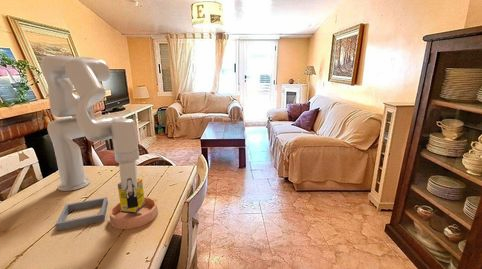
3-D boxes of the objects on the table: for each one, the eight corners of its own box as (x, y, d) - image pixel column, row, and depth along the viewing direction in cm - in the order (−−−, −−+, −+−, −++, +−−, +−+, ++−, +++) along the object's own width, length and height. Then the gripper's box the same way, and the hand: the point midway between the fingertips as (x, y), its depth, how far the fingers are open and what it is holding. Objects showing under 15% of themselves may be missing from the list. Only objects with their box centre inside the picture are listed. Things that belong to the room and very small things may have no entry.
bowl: (112, 210, 94) (111, 201, 94) (155, 201, 100) (154, 193, 100) (109, 233, 80) (107, 223, 80) (159, 221, 86) (158, 213, 86)
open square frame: (66, 210, 95) (65, 204, 94) (108, 202, 100) (107, 197, 99) (56, 230, 82) (55, 224, 82) (104, 220, 88) (103, 214, 87)
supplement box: (136, 214, 86) (132, 185, 84) (120, 212, 87) (116, 184, 85) (145, 205, 92) (142, 178, 89) (131, 204, 93) (127, 177, 91)
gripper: (116, 149, 91) (122, 193, 95) (113, 165, 76) (120, 216, 80) (138, 147, 94) (143, 189, 98) (139, 161, 79) (145, 210, 83)
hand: (133, 201), depth 89 cm, fingers closed on supplement box, 8 cm apart
